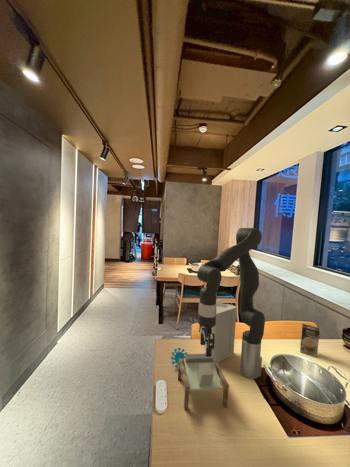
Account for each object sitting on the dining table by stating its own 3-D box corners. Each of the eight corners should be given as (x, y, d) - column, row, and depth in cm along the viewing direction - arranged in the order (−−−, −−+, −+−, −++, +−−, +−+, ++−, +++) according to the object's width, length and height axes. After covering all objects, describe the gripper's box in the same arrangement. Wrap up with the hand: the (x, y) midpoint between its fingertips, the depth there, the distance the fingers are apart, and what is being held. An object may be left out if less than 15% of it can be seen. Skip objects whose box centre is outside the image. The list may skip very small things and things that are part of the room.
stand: (177, 377, 102) (178, 358, 101) (213, 376, 104) (214, 357, 104) (184, 410, 84) (185, 387, 83) (227, 407, 86) (228, 384, 86)
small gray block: (207, 373, 93) (210, 362, 90) (210, 385, 88) (213, 374, 86) (196, 374, 92) (199, 363, 90) (199, 386, 88) (201, 375, 85)
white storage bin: (215, 342, 136) (217, 299, 135) (234, 353, 125) (237, 307, 124) (193, 351, 124) (196, 305, 123) (213, 365, 113) (216, 314, 112)
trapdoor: (183, 359, 99) (184, 354, 98) (212, 358, 101) (213, 353, 100) (188, 390, 87) (189, 385, 85) (221, 389, 89) (222, 383, 87)
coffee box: (299, 352, 130) (301, 326, 129) (299, 347, 135) (301, 323, 135) (317, 358, 125) (319, 331, 124) (317, 352, 130) (319, 327, 130)
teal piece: (171, 368, 106) (171, 346, 113) (168, 371, 110) (168, 349, 117) (192, 368, 108) (190, 347, 115) (188, 371, 113) (186, 350, 119)
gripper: (221, 320, 83) (219, 360, 83) (210, 306, 97) (208, 340, 97) (203, 320, 82) (201, 361, 82) (194, 306, 96) (193, 341, 96)
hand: (205, 350), depth 90 cm, fingers open, 8 cm apart
